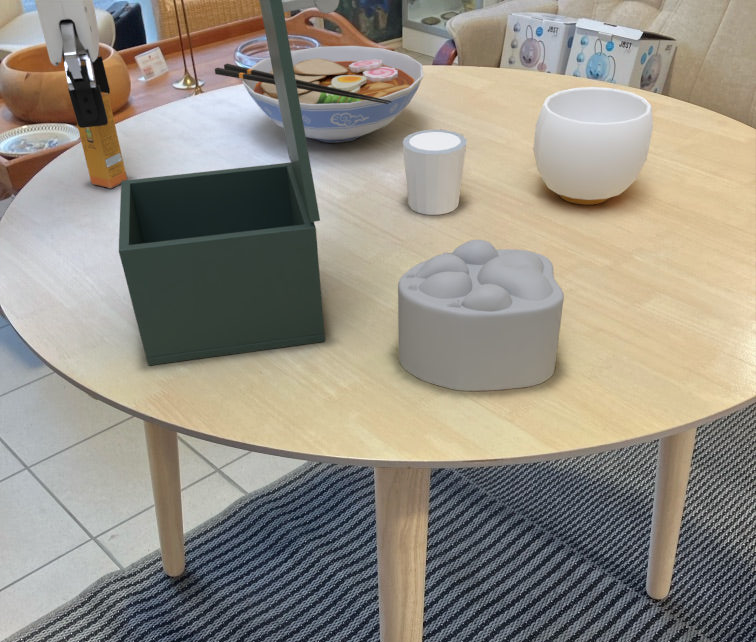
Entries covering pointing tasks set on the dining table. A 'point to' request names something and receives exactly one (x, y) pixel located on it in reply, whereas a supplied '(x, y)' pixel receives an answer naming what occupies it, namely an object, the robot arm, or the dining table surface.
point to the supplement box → (103, 151)
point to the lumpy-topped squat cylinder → (480, 318)
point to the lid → (291, 90)
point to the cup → (592, 142)
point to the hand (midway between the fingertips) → (95, 109)
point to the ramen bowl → (338, 89)
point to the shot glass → (434, 170)
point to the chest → (220, 262)
